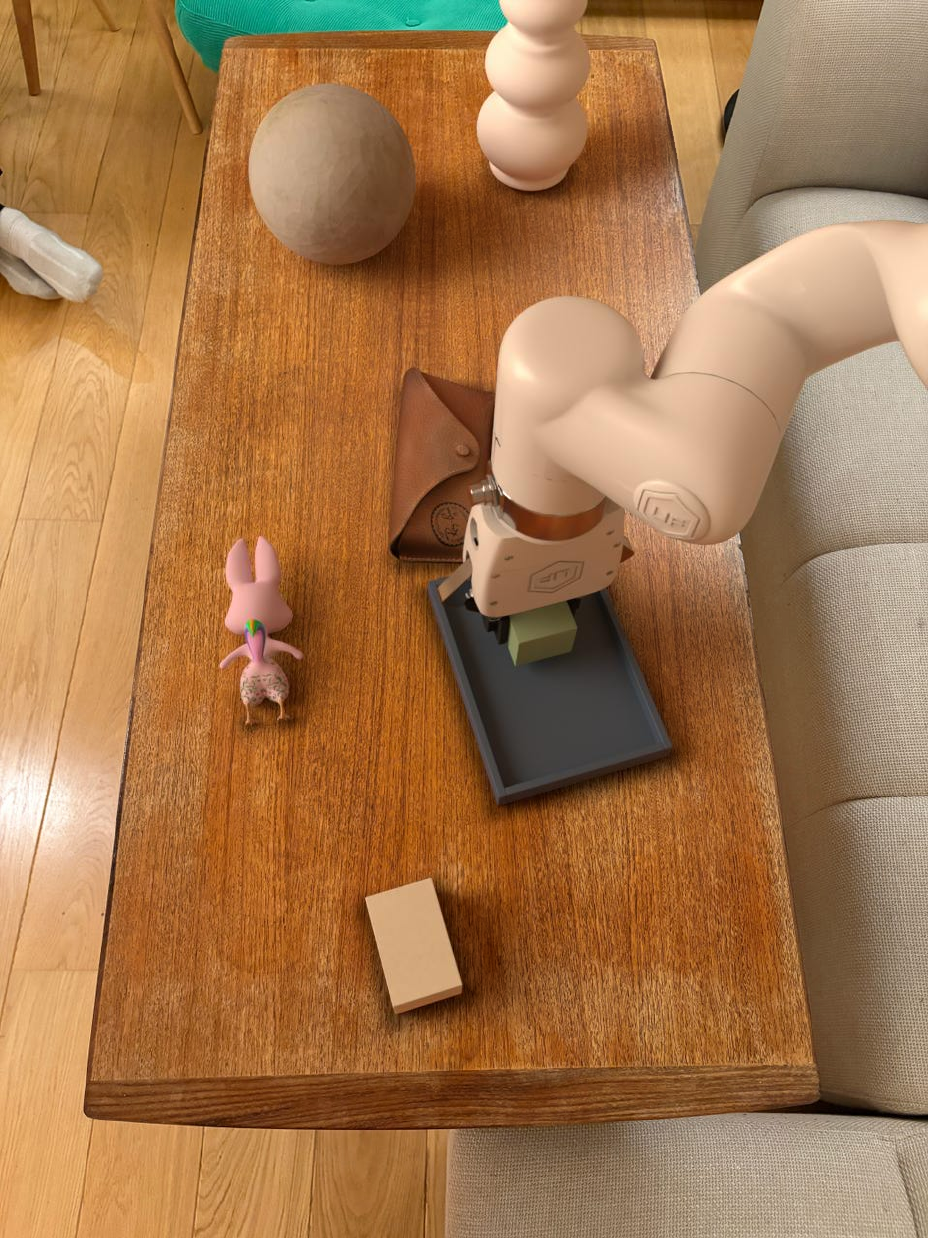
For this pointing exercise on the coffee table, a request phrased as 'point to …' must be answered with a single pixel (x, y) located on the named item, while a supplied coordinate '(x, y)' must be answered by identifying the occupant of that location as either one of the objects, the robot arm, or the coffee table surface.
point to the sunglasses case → (437, 466)
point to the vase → (535, 94)
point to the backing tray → (553, 702)
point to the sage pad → (541, 633)
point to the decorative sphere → (332, 174)
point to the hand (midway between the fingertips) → (529, 617)
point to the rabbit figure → (258, 623)
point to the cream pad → (414, 945)
